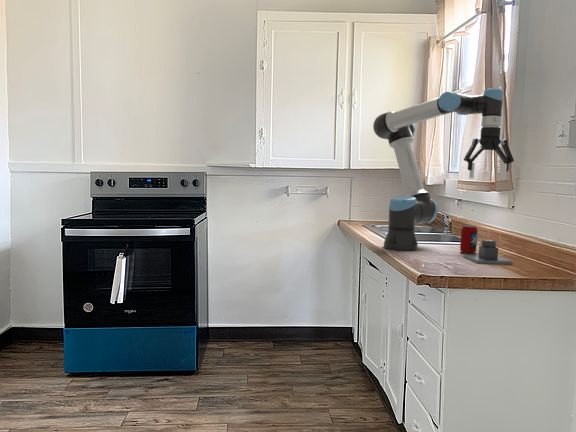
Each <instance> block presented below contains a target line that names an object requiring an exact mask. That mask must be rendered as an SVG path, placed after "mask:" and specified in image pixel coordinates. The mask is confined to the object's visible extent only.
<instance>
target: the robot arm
mask: <svg viewBox="0 0 576 432" xmlns="http://www.w3.org/2000/svg"><path fill="white" fill-rule="evenodd" d="M503 92H504V91H503V89H502V88H501V89H500V88H486V89H484V90H483V93H482V94H479V95H468V94H464V93H458V92H454V91H445V92H443V93H442V94H441V95H440V96H439V97H436V98H434V99H433V98H432V99H430V100H428V101H425V102H422V103H419V104H416V105H412V106H409V107H407V108H404V109H400V110H398V111H387V112H384V113H381V114H379V115H378V116H376V118H375V119H374V121H373V124H372V125H373V126H372V127H373V128H372V129H373V132H374V133H375V135H376V136H377V137H378V138H380V139H384V140H387V141H388V144H389V147H390V148H392V149H393V151H394V154H395V157H396V161H397V165H398V166H397V167H398V168H399V172H400V176H401V180H402V184H403V187H404V191H405V196H404V195H403V196H396V197H392V198H390V200H389V205H388V231H387V234H386V235H385V238H384V242H383V248H384V249H388V250H393V251H403V252H405V251H407V252H408V251H417V250H418V249H419V248H418V246H419V245H418V243H419V242H418V240H417V237H416V233H415V231H416V230H415V228H416V225H426V224H429V223H432V222H433V221H434V220H435V219H436V218H437V216H438V212H439V206H438V203H437V202H436V201H435V200H434V199H432V198H431V196H430V192H429V191H427V190H426V189H425V188H424V183H423V181H422V176H421V172H420V168H419V166H418V162H417V158H416V155H415V152H414V148H413V141H414V135H415V133H416V126H415V124H418V123H421V122H424V121H428V120H431V119H435V118H438V117H440V116H444V115H447V114H451V113H456V114H458V115H459V116H460V115H461V116H463V115H464V116H466V115H475V114H477V115H478V114H480V115H481V123H480V126H481V128H480V138H479V139H478V138H473V139H472V141H471V142H472V143H471V145H470V146H469V149H468V151H467V152H466V154H465V155H464V157H463V161H464V162H467V171H469V177H468V178H469V179H474V178H475V162H474V161H476V159H477V158H478V157H479V156H480V154H482V152H483V151H494V152H496V154H497V155H498V158H500V159H501V161H502V162H503V163H501V171H500V172H501V174H500V179H501V180H506V179H507V172H508V171H509V167H510V164H511V163H513V162H514V161H515V160H514V157H513V155H512V152H511V150H510V148H509V144H508V139H507V138H506V139H501V128H500V127H502V111H503V101H504V98H503V97H504V96H503V95H504V94H503ZM479 144H480V145H479ZM478 145H479V147H478V148H477V146H478ZM499 145H501V146H502V149H503V150H502V149H501V146H499ZM476 148H477V150H476ZM475 150H476V151H475ZM474 151H475V152H474ZM503 151H504V152H503Z"/></svg>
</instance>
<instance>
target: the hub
mask: <svg viewBox="0 0 576 432" xmlns="http://www.w3.org/2000/svg"><path fill="white" fill-rule="evenodd" d="M462 257H463V258H464V259H466V260H469V261H471V262H474V263H476V264H484V265H485V264H490V265H492V264H493V265H513V264H514V263H513V260H511V259H508V258H506V257H503V256H500V255H498V259H483V258H481V257H479V254H475V253H472V254H469V253H463V255H462Z"/></svg>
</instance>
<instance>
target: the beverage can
mask: <svg viewBox="0 0 576 432" xmlns="http://www.w3.org/2000/svg"><path fill="white" fill-rule="evenodd" d="M460 229H461V231H460V246H459V251H461V253H463V254H475V253H476V252H477V246H478V230H479V229H478V228H477V225H473V224H464V225H462V227H461V228H460Z"/></svg>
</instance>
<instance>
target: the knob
mask: <svg viewBox="0 0 576 432" xmlns="http://www.w3.org/2000/svg"><path fill="white" fill-rule="evenodd" d="M478 255H479V257H481V258H483V259H498V256H499V247H497V240H493V239H481V245H478Z"/></svg>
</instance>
